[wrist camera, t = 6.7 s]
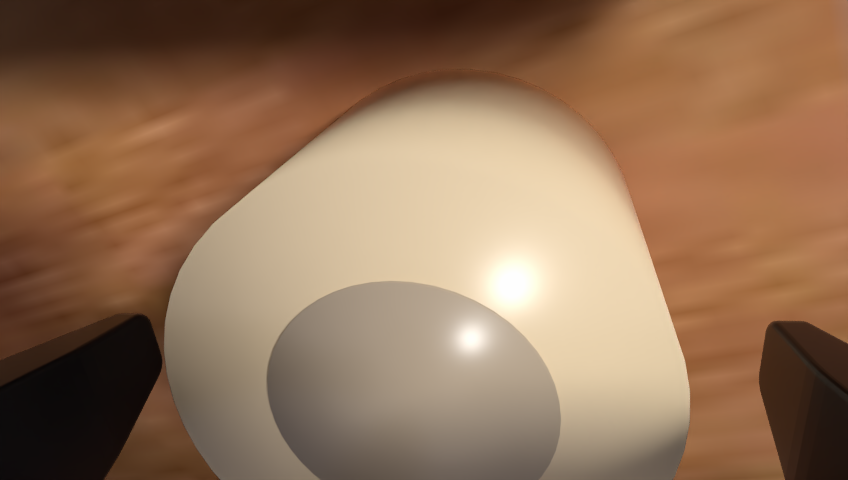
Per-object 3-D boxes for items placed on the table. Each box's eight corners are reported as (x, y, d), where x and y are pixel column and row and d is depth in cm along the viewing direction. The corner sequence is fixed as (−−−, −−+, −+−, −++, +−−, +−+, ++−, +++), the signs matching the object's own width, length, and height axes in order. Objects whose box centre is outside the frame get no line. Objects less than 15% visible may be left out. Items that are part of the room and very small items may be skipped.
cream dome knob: (627, 376, 13) (671, 615, 8) (330, 368, 14) (227, 569, 9) (641, 55, 10) (719, 145, 6) (273, 81, 11) (93, 171, 7)
